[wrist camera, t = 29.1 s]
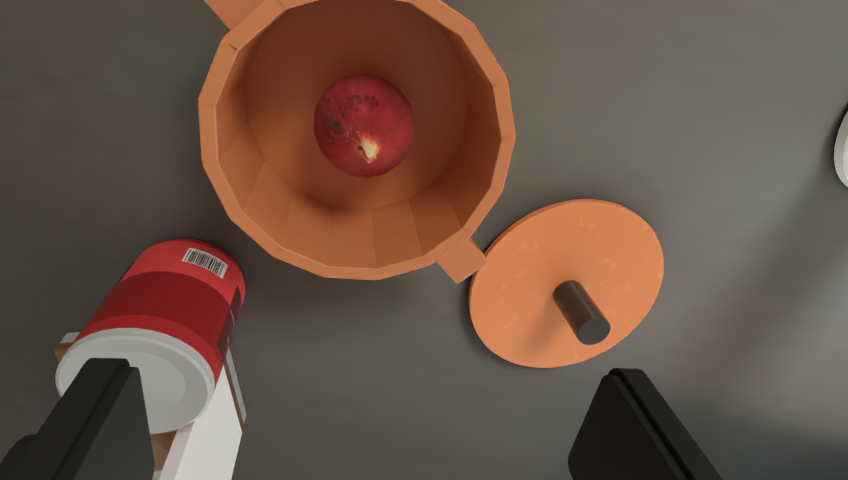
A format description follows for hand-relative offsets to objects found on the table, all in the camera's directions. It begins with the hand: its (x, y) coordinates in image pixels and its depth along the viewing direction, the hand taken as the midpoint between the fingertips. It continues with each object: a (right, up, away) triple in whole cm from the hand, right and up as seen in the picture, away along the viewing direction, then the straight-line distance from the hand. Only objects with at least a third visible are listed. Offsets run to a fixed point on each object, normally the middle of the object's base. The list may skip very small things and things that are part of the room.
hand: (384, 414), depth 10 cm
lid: (+13, -1, +31) cm, 33 cm away
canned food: (-17, +1, +26) cm, 31 cm away
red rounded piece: (-3, +12, +22) cm, 25 cm away
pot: (-3, +12, +22) cm, 25 cm away
